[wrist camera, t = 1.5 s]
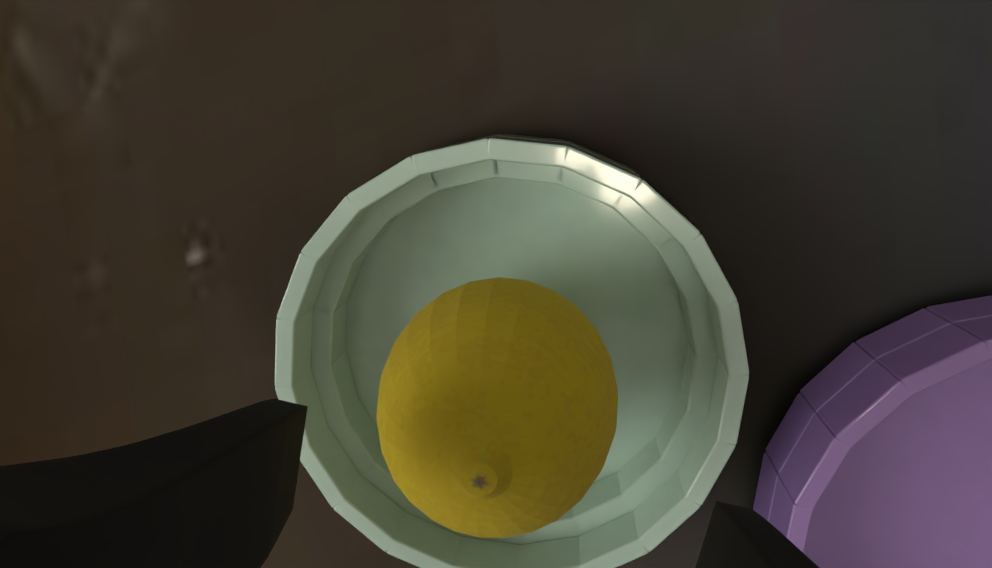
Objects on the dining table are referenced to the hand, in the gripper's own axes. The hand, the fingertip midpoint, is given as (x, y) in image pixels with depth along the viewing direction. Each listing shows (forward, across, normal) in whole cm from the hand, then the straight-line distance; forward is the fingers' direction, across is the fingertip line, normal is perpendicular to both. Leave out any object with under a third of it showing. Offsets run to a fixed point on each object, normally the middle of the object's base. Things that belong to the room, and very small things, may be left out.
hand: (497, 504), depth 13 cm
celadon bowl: (+9, 0, 0) cm, 9 cm away
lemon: (+9, 0, 0) cm, 9 cm away
